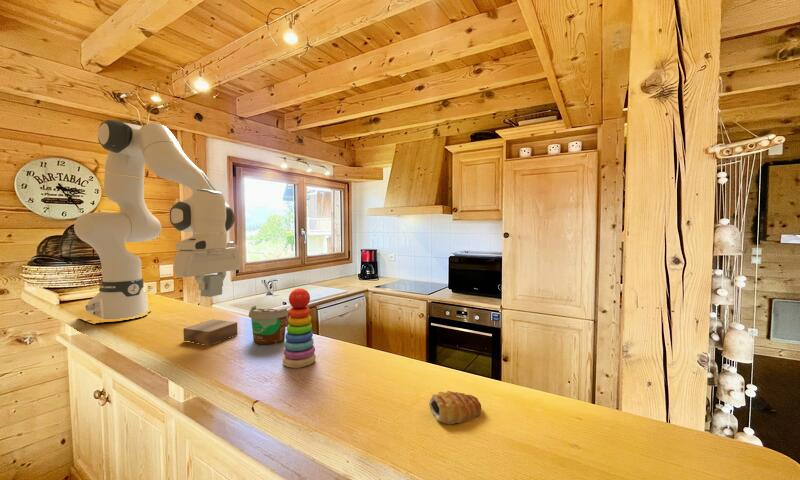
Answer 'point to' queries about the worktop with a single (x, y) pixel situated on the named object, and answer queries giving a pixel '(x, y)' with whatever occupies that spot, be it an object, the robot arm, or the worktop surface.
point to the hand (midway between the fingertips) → (211, 288)
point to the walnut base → (210, 332)
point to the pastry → (454, 407)
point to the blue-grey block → (212, 285)
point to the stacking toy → (299, 332)
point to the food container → (268, 325)
